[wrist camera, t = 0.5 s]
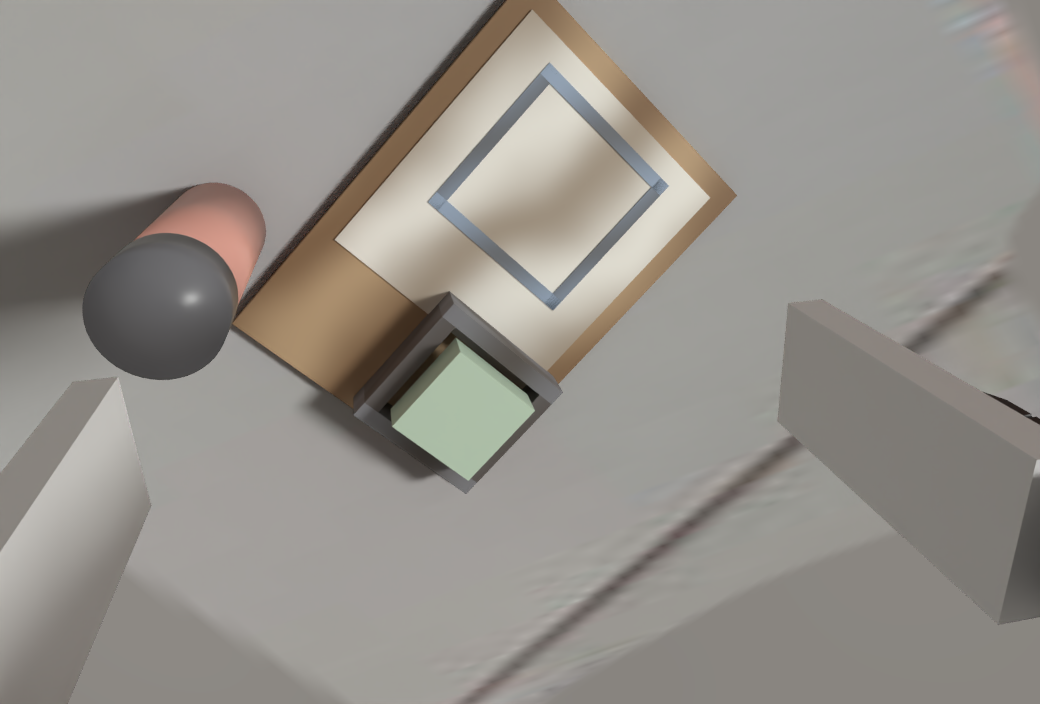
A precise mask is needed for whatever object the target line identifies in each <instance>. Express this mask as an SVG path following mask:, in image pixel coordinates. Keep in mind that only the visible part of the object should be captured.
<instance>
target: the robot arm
mask: <svg viewBox="0 0 1040 704" xmlns="http://www.w3.org/2000/svg"><path fill="white" fill-rule="evenodd" d="M778 422H779V423H780V424H781V425H782V426H783V427H784V428H785V429H787V430H788V431H789V432H790V433H791V434H792V435H793V436H794V437H795V438H796V439H797V440H798V441H800V442H801V443H802V444H803V445H804V446H805V447H806V448H807V449H808V450H809V451H810V452H811V453H813V454H814V455H815V456H816V457H817V458H818V459H819V460H820V461H821V462H822V463H823V464H824V465H826V466H827V467H828V468H829V469H830V470H831V471H832V472H833V473H834V474H835V475H836V476H837V477H838V478H840V479H841V480H842V481H843V482H844V483H845V484H846V485H847V486H848V487H849V488H850V489H851V490H853V491H854V492H855V493H856V494H857V495H858V496H859V497H860V498H861V499H862V500H863V501H864V502H866V503H867V504H868V505H869V506H870V507H871V508H872V509H873V510H874V511H875V512H876V513H877V514H879V515H880V516H881V517H882V518H883V519H884V520H885V521H886V522H887V523H888V524H889V525H890V526H892V527H893V528H894V529H895V530H896V531H897V532H898V533H899V534H900V535H901V536H902V537H903V538H905V539H906V540H907V541H908V542H909V543H910V544H911V545H912V546H913V547H914V548H916V550H918V551H919V552H920V553H921V554H922V555H923V556H924V557H925V558H926V559H927V560H928V561H929V562H931V563H932V564H933V565H934V566H935V567H936V568H937V569H938V570H939V571H940V572H941V573H942V574H944V575H945V576H946V577H947V578H948V579H949V580H950V581H951V582H952V583H953V584H954V585H955V586H956V587H958V588H959V589H960V590H961V591H962V592H963V593H964V594H965V595H966V596H967V597H968V598H969V599H971V600H972V601H973V602H974V603H975V604H976V605H977V606H978V607H979V608H980V609H981V610H982V611H984V612H985V613H986V614H987V615H988V616H989V617H990V618H991V619H992V620H993V621H994V622H996V623H997V624H998V625H1000V624H1005V623H1010V622H1016V621H1021V620H1026V619H1032V618H1037V617H1040V419H1039V418H1037V417H1032V416H1031V414H1030V413H1029V412H1027V411H1025V410H1023V409H1022V408H1020V407H1018V406H1016V405H1014V404H1013V403H1011V402H1009V401H1007V400H1005V399H1002V398H999V397H996V396H993V395H990V394H987V393H984V392H982V391H980V390H978V389H977V388H975V387H973V386H971V385H970V384H968V383H966V382H964V381H963V380H961V379H959V378H957V377H956V376H954V375H952V374H951V373H949V372H947V371H945V370H944V369H942V368H940V367H938V366H937V365H935V364H933V363H931V362H930V361H928V360H926V359H925V358H923V357H921V356H919V355H918V354H916V353H914V352H912V351H911V350H909V349H907V348H905V347H904V346H902V345H900V344H899V343H897V342H895V341H893V340H892V339H890V338H888V337H886V336H885V335H883V334H881V333H879V332H878V331H876V330H874V329H873V328H871V327H869V326H867V325H866V324H864V323H862V322H860V321H859V320H857V319H855V318H853V317H852V316H850V315H848V314H847V313H845V312H843V311H841V310H840V309H838V308H836V307H834V306H833V305H831V304H829V303H827V302H826V301H824V300H822V299H821V300H812V301H803V302H794V303H788V310H787V321H786V332H785V344H784V355H783V366H782V377H781V388H780V399H779V410H778ZM150 508H151V503H150V499H149V495H148V491H147V487H146V483H145V479H144V475H143V472H142V468H141V464H140V460H139V456H138V452H137V448H136V444H135V440H134V437H133V433H132V429H131V425H130V421H129V417H128V413H127V409H126V405H125V402H124V398H123V394H122V390H121V386H120V382H119V378H118V377H111V378H102V379H93V380H84V381H75V382H72V384H71V385H70V386H69V387H68V389H67V390H66V391H65V392H64V394H63V395H62V396H61V397H60V399H59V400H58V401H57V402H56V404H55V405H54V406H53V408H52V409H51V410H50V411H49V413H48V414H47V415H46V416H45V418H44V419H43V420H42V421H41V423H40V424H39V425H38V426H37V428H36V429H35V430H34V432H33V433H32V434H31V435H30V437H29V438H28V439H27V440H26V442H25V443H24V444H23V445H22V447H21V448H20V449H19V451H18V452H17V453H16V454H15V456H14V457H13V458H12V459H11V461H10V462H9V463H8V464H7V466H6V467H5V468H4V469H3V471H2V472H1V473H0V704H68V702H69V700H70V697H71V695H72V693H73V690H74V688H75V686H76V683H77V681H78V679H79V676H80V674H81V671H82V669H83V666H84V664H85V662H86V660H87V657H88V655H89V652H90V650H91V648H92V645H93V643H94V640H95V638H96V636H97V633H98V631H99V629H100V626H101V624H102V622H103V619H104V617H105V614H106V612H107V610H108V607H109V605H110V602H111V600H112V598H113V595H114V593H115V591H116V588H117V586H118V584H119V581H120V579H121V576H122V574H123V572H124V569H125V567H126V565H127V562H128V560H129V557H130V555H131V553H132V550H133V548H134V546H135V543H136V541H137V538H138V536H139V534H140V531H141V529H142V527H143V524H144V522H145V520H146V517H147V515H148V512H149V510H150Z"/></svg>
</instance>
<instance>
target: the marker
mask: <svg viewBox="0 0 1040 704" xmlns="http://www.w3.org/2000/svg"><path fill="white" fill-rule="evenodd" d="M265 237H266V227H265V221H264V218H263V215H262V213H261V211H260V209H259V207H258V206H257V204H256V203H255V202H254V201H253V200H252V199H251V198H250V197H249V196H248V195H247V194H246V193H244V192H243V191H241V190H239V189H237V188H235V187H233V186H230V185H227V184H222V183H205V184H201V185H197V186H195V187H192V188H191V189H189V190H187V191H186V192H185V193H183V194H182V195H181V196H180V197H179V198H178V199H177V200H176V201H175V202H174V203H173V204H172V205H171V206H169V207H168V208H167V209H166V210H165V211H164V212H163V213H162V214H161V215H160V216H159V217H158V218H157V219H156V220H155V221H154V222H153V223H152V224H150V225H149V226H148V227H147V228H146V229H145V230H144V231H143V232H142V233H141V234H140V235H139V236H138V237H137V238H136V239H135V240H134V241H133V242H131V243H129V244H128V245H127V246H125V247H124V248H123V249H122V250H121V251H119V252H118V253H117V254H116V255H115V256H114V257H113V258H112V259H111V260H110V261H109V262H108V263H107V264H106V265H104V266H103V267H102V268H101V269H100V270H99V271H98V272H97V274H96V275H95V276H94V277H93V279H92V280H91V282H90V283H89V285H88V287H87V289H86V292H85V296H84V300H83V320H84V325H85V328H86V331H87V333H88V335H89V338H90V340H91V341H92V343H93V344H94V346H95V347H96V349H97V350H98V351H99V352H100V353H101V354H102V355H103V356H104V357H105V358H106V359H107V360H108V361H109V362H111V363H112V364H113V365H115V366H116V367H118V368H120V369H122V370H123V371H125V372H128V373H130V374H132V375H135V376H139V377H142V378H147V379H155V380H170V379H176V378H181V377H185V376H188V375H190V374H193V373H195V372H197V371H199V370H200V369H202V368H203V367H205V366H206V365H207V364H209V363H210V362H211V361H212V360H213V359H214V358H215V356H216V355H217V354H218V352H219V351H220V349H221V347H222V346H223V344H224V341H225V339H226V337H227V334H228V332H229V329H230V327H231V325H232V322H233V320H234V317H235V315H236V312H237V307H238V304H239V302H240V299H241V297H242V295H243V292H244V290H245V288H246V285H247V283H248V281H249V278H250V276H251V274H252V271H253V269H254V267H255V264H256V262H257V259H258V257H259V255H260V252H261V250H262V248H263V245H264V242H265Z"/></svg>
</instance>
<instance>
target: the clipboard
mask: <svg viewBox="0 0 1040 704" xmlns="http://www.w3.org/2000/svg"><path fill="white" fill-rule="evenodd" d="M736 196H737V195H736V194H735V193H734V192H733V191H732V189H731V188H730V187H729V186H728V185H727V184H726V183H725V182H724V181H723V180H722V179H721V178H720V176H719V175H718V174H717V173H716V172H715V171H714V170H713V169H712V168H711V167H710V166H709V165H708V163H707V162H706V161H705V160H704V159H703V158H702V157H701V156H700V155H699V154H698V153H697V152H696V150H695V149H694V148H693V147H692V146H691V145H690V144H689V143H688V142H687V141H686V140H685V139H684V137H683V136H682V135H681V134H680V133H679V132H678V131H677V130H676V129H675V128H674V127H673V126H672V125H671V123H670V122H669V121H668V120H667V119H666V118H665V117H664V116H663V115H662V114H661V113H660V112H659V110H658V109H657V108H656V107H655V106H654V105H653V104H652V103H651V102H650V101H649V100H648V99H647V97H646V96H645V95H644V94H643V93H642V92H641V91H640V90H639V89H638V88H637V87H636V86H635V84H634V83H633V82H632V81H631V80H630V79H629V78H628V77H627V76H626V75H625V74H624V73H623V71H622V70H621V69H620V68H619V67H618V66H617V65H616V64H615V63H614V62H613V61H612V60H611V59H610V57H609V56H608V55H607V54H606V53H605V52H604V51H603V50H602V49H601V48H600V47H599V46H598V44H597V43H596V42H595V41H594V40H593V39H592V38H591V37H590V36H589V35H588V34H587V33H586V31H585V30H584V29H583V28H582V27H581V26H580V25H579V24H578V23H577V22H576V21H575V20H574V18H573V17H572V16H571V15H570V14H569V13H568V12H567V11H566V10H565V9H564V8H563V7H562V5H561V4H560V3H559V2H558V1H557V0H505V1H504V2H503V4H502V5H501V6H500V7H499V8H498V10H497V11H496V12H495V13H494V14H493V15H492V17H491V18H490V19H489V20H488V21H487V22H486V24H485V25H484V26H483V27H482V28H481V30H480V31H479V32H478V33H477V34H476V35H475V37H474V38H473V39H472V40H471V41H470V42H469V44H468V45H467V46H466V47H465V48H464V50H463V51H462V52H461V53H460V54H459V55H458V57H457V58H456V59H455V60H454V61H453V62H452V64H451V65H450V66H449V67H448V68H447V70H446V71H445V72H444V73H443V74H442V75H441V77H440V78H439V79H438V80H437V81H436V82H435V84H434V85H433V86H432V87H431V88H430V90H429V91H428V92H427V93H426V94H425V95H424V97H423V98H422V99H421V100H420V101H419V102H418V104H417V105H416V106H415V107H414V108H413V110H412V111H411V112H410V113H409V114H408V115H407V117H406V118H405V119H404V120H403V121H402V122H401V124H400V125H399V126H398V127H397V128H396V130H395V131H394V132H393V133H392V134H391V135H390V137H389V138H388V139H387V140H386V141H385V142H384V144H383V145H382V146H381V147H380V148H379V150H378V151H377V152H376V153H375V154H374V155H373V157H372V158H371V159H370V160H369V161H368V163H367V164H366V165H365V166H364V167H363V168H362V170H361V171H360V172H359V173H358V174H357V175H356V177H355V178H354V179H353V180H352V181H351V183H350V184H349V185H348V186H347V187H346V188H345V190H344V191H343V192H342V193H341V194H340V195H339V197H338V198H337V199H336V200H335V201H334V203H333V204H332V205H331V206H330V207H329V208H328V210H327V211H326V212H325V213H324V214H323V215H322V217H321V218H320V219H319V220H318V221H317V223H316V224H315V225H314V226H313V227H312V228H311V230H310V231H309V232H308V233H307V234H306V235H305V237H304V238H303V239H302V240H301V241H300V243H299V244H298V245H297V246H296V247H295V248H294V250H293V251H292V252H291V253H290V254H289V255H288V257H287V258H286V259H285V260H284V261H283V263H282V264H281V265H280V266H279V267H278V268H277V270H276V271H275V272H274V273H273V274H272V275H271V277H270V278H269V279H268V280H267V281H266V283H265V284H264V285H263V286H262V287H261V288H260V290H259V291H258V292H257V293H256V294H255V295H254V297H253V298H252V299H251V300H250V301H249V303H248V304H247V305H246V306H245V307H244V308H243V310H242V311H241V312H240V313H239V314H238V315H237V317H236V318H235V319H234V321H233V323H232V324H233V325H235V326H236V327H237V328H239V329H240V330H242V331H243V332H245V333H246V334H247V335H249V336H250V337H252V338H253V339H254V340H256V341H257V342H259V343H260V344H262V345H263V346H264V347H266V348H267V349H269V350H270V351H272V352H273V353H274V354H276V355H277V356H279V357H280V358H281V359H283V360H284V361H286V362H287V363H289V364H290V365H291V366H293V367H294V368H296V369H297V370H299V371H300V372H301V373H303V374H304V375H306V376H307V377H308V378H310V379H311V380H313V381H314V382H316V383H317V384H318V385H320V386H321V387H323V388H324V389H326V390H327V391H328V392H330V393H331V394H333V395H334V396H335V397H337V398H338V399H340V400H341V401H343V402H344V403H345V404H347V405H348V406H350V407H351V408H353V415H354V416H355V417H357V418H358V419H360V420H361V421H362V422H364V423H365V424H367V425H368V426H370V427H371V428H372V429H374V430H375V431H377V432H378V433H380V434H381V435H382V436H384V437H385V438H387V439H388V440H390V441H391V442H392V443H394V444H395V445H397V446H398V447H400V448H401V449H402V450H404V451H405V452H407V453H408V454H410V455H411V456H412V457H414V458H415V459H417V460H418V461H420V462H421V463H422V464H424V465H425V466H427V467H428V468H430V469H431V470H432V471H434V472H435V473H437V474H438V475H440V476H441V477H442V478H444V479H445V480H447V481H448V482H450V483H451V484H452V485H454V486H455V487H457V488H458V489H460V490H461V491H462V492H464V493H465V494H467V492H468V491H469V490H470V489H471V488H472V487H473V486H474V485H475V484H476V483H477V482H478V481H479V480H480V479H481V478H482V477H483V476H484V475H485V474H486V473H487V472H488V470H489V469H490V468H491V467H492V466H493V465H494V464H495V463H496V462H497V461H498V460H499V459H500V458H501V457H502V456H503V455H504V454H505V453H506V452H507V451H508V449H509V448H510V447H511V446H512V445H513V444H514V443H515V442H516V441H517V440H518V439H519V438H520V437H521V436H522V435H523V434H524V433H525V432H526V431H527V430H528V428H529V427H530V426H531V425H532V424H533V423H534V422H535V421H536V420H537V419H538V418H539V417H540V416H541V415H542V414H543V413H544V412H545V411H546V410H547V409H548V407H549V406H550V405H551V404H552V403H553V402H554V401H555V400H556V399H557V398H558V397H559V396H560V395H561V394H562V393H563V392H562V390H561V388H560V387H559V385H558V384H559V383H560V382H561V381H562V379H563V378H564V377H565V376H566V375H567V374H568V373H569V372H570V371H571V370H572V369H573V368H574V367H575V366H576V365H577V364H578V363H579V362H580V361H581V359H582V358H583V357H584V356H585V355H586V354H587V353H588V352H589V351H590V350H591V349H592V348H593V347H594V346H595V345H596V344H597V343H598V342H599V340H600V339H601V338H602V337H603V336H604V335H605V334H606V333H607V332H608V331H609V330H610V329H611V328H612V327H613V326H614V325H615V324H616V323H617V322H618V320H619V319H620V318H621V317H622V316H623V315H624V314H625V313H626V312H627V311H628V310H629V309H630V308H631V307H632V306H633V305H634V304H635V303H636V302H637V300H638V299H639V298H640V297H641V296H642V295H643V294H644V293H645V292H646V291H647V290H648V289H649V288H650V287H651V286H652V285H653V284H654V283H655V282H656V280H657V279H658V278H659V277H660V276H661V275H662V274H663V273H664V272H665V271H666V270H667V269H668V268H669V267H670V266H671V265H672V264H673V263H674V262H675V260H676V259H677V258H678V257H679V256H680V255H681V254H682V253H683V252H684V251H685V250H686V249H687V248H688V247H689V246H690V245H691V244H692V243H693V241H694V240H695V239H696V238H697V237H698V236H699V235H700V234H701V233H702V232H703V231H704V230H705V229H706V228H707V227H708V226H709V225H710V224H711V223H712V221H713V220H714V219H715V218H716V217H717V216H718V215H719V214H720V213H721V212H722V211H723V210H724V209H725V208H726V207H727V206H728V205H729V204H730V203H731V201H732V200H733V199H734V198H735V197H736ZM455 338H457V339H458V340H459V341H461V342H462V343H463V344H465V345H466V346H467V347H468V348H470V349H471V350H472V351H473V352H475V353H476V354H477V355H478V356H480V357H481V358H482V359H483V360H485V361H486V362H487V363H488V364H490V365H491V366H492V367H493V368H495V369H496V370H497V371H498V372H500V373H501V374H502V375H503V376H505V377H506V378H507V379H509V380H510V381H511V382H512V383H514V384H515V385H516V386H517V387H519V388H520V389H521V390H522V391H524V392H525V393H526V394H527V395H528V397H529V399H530V401H531V403H532V405H533V407H534V410H535V411H534V412H533V413H532V414H531V416H530V417H529V418H528V419H527V420H526V421H525V422H524V423H523V424H522V425H521V426H520V427H519V428H518V429H517V430H516V431H515V432H514V433H513V434H512V436H511V437H510V438H509V439H508V440H507V441H506V442H505V443H504V444H503V445H502V446H501V447H500V448H499V449H498V450H497V451H496V452H495V453H494V454H493V456H492V457H491V458H490V459H489V460H488V461H487V462H486V463H485V464H484V465H483V466H482V467H481V468H480V469H479V470H478V471H477V472H476V473H475V474H474V476H473V477H472V478H471V479H470V480H469V481H468V480H466V479H465V478H464V477H462V476H461V475H459V474H458V473H457V472H455V471H454V470H452V469H451V468H450V467H448V466H447V465H445V464H444V463H443V462H441V461H440V460H438V459H437V458H435V457H434V456H433V455H431V454H430V453H428V452H427V451H426V450H424V449H423V448H421V447H420V446H419V445H417V444H416V443H414V442H413V441H411V440H410V439H409V438H407V437H406V436H404V435H403V434H402V433H400V432H399V431H397V430H396V429H395V428H393V427H392V421H391V410H390V409H391V408H392V407H393V406H394V405H395V404H396V403H397V401H398V400H399V399H400V398H401V397H402V396H403V395H404V394H405V393H406V392H407V391H408V389H409V388H410V387H411V386H412V385H413V384H414V383H415V382H416V381H417V380H418V378H419V377H420V376H421V375H422V374H423V373H424V372H425V371H426V370H427V369H428V367H429V366H430V365H431V364H432V363H433V362H434V361H435V360H436V359H437V358H438V356H439V355H440V354H441V353H442V352H443V351H444V350H445V349H446V348H447V347H448V346H449V344H450V343H451V342H452V341H453V340H454V339H455Z"/></svg>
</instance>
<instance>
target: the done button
mask: <svg viewBox="0 0 1040 704" xmlns="http://www.w3.org/2000/svg"><path fill="white" fill-rule="evenodd" d="M390 410H391V421H392V427H393V428H395V429H396V430H397V431H399V432H400V433H402V434H403V435H404V436H406V437H407V438H409V439H410V440H411V441H413V442H414V443H416V444H417V445H419V446H420V447H421V448H423V449H424V450H426V451H427V452H428V453H430V454H431V455H433V456H434V457H435V458H437V459H438V460H440V461H441V462H443V463H444V464H445V465H447V466H448V467H450V468H451V469H452V470H454V471H455V472H457V473H458V474H459V475H461V476H462V477H464V478H465V479H466V480H468V481H469V480H470V479H471V478H472V477H473V476H474V474H475V473H476V472H477V471H478V470H479V469H480V468H481V467H482V466H483V465H484V464H485V463H486V462H487V461H488V460H489V459H490V458H491V457H492V456H493V454H494V453H495V452H496V451H497V450H498V449H499V448H500V447H501V446H502V445H503V444H504V443H505V442H506V441H507V440H508V439H509V438H510V437H511V436H512V434H513V433H514V432H515V431H516V430H517V429H518V428H519V427H520V426H521V425H522V424H523V423H524V422H525V421H526V420H527V419H528V418H529V417H530V416H531V414H532V413H533V412H534V411H535V410H534V407H533V405H532V403H531V401H530V399H529V397H528V395H527V394H526V393H525V392H524V391H522V390H521V389H520V388H519V387H517V386H516V385H515V384H514V383H512V382H511V381H510V380H509V379H507V378H506V377H505V376H503V375H502V374H501V373H500V372H498V371H497V370H496V369H495V368H493V367H492V366H491V365H490V364H488V363H487V362H486V361H485V360H483V359H482V358H481V357H480V356H478V355H477V354H476V353H475V352H473V351H472V350H471V349H470V348H468V347H467V346H466V345H465V344H463V343H462V342H461V341H459V340H458V339H457V338H455V339H454V340H453V341H452V342H451V343H450V344H449V346H448V347H447V348H446V349H445V350H444V351H443V352H442V353H441V354H440V355H439V356H438V358H437V359H436V360H435V361H434V362H433V363H432V364H431V365H430V366H429V367H428V369H427V370H426V371H425V372H424V373H423V374H422V375H421V376H420V377H419V378H418V380H417V381H416V382H415V383H414V384H413V385H412V386H411V387H410V388H409V389H408V391H407V392H406V393H405V394H404V395H403V396H402V397H401V398H400V399H399V400H398V401H397V403H396V404H395V405H394V406H393V407H392V408H391V409H390Z"/></svg>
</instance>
